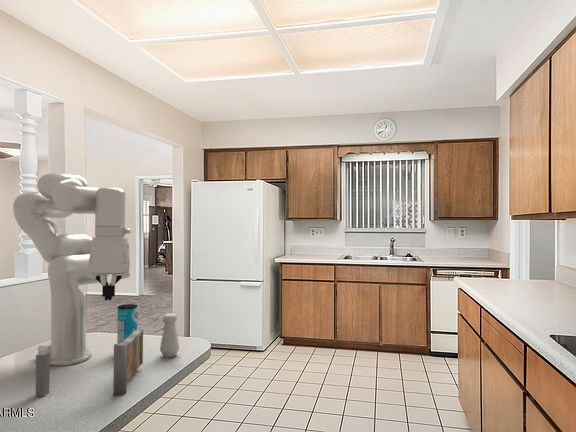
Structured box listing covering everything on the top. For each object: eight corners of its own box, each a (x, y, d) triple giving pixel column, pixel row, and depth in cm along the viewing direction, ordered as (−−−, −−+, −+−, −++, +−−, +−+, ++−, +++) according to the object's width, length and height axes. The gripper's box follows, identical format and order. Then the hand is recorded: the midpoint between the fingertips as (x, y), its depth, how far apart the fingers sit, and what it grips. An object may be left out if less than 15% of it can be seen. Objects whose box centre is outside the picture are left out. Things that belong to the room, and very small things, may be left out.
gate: (126, 383, 105) (127, 345, 105) (118, 383, 105) (118, 345, 105) (142, 363, 120) (143, 329, 120) (135, 363, 120) (136, 329, 120)
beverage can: (133, 356, 131) (134, 308, 131) (114, 356, 131) (114, 308, 131) (139, 350, 137) (139, 304, 137) (120, 350, 136) (121, 304, 137)
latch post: (35, 396, 101) (36, 355, 101) (40, 392, 103) (41, 352, 103) (44, 396, 101) (44, 355, 101) (49, 392, 103) (49, 351, 103)
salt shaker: (181, 353, 134) (182, 312, 134) (175, 359, 128) (175, 316, 128) (164, 352, 135) (164, 312, 135) (156, 358, 129) (157, 316, 129)
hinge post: (111, 395, 102) (112, 346, 102) (115, 390, 105) (116, 342, 105) (124, 395, 102) (124, 346, 102) (128, 390, 105) (128, 342, 105)
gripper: (139, 232, 121) (138, 295, 121) (83, 231, 117) (81, 297, 117) (137, 233, 113) (136, 301, 114) (77, 233, 109) (75, 303, 110)
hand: (108, 299), depth 115 cm, fingers closed
